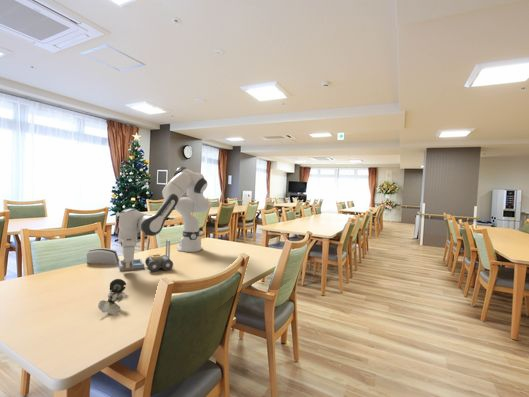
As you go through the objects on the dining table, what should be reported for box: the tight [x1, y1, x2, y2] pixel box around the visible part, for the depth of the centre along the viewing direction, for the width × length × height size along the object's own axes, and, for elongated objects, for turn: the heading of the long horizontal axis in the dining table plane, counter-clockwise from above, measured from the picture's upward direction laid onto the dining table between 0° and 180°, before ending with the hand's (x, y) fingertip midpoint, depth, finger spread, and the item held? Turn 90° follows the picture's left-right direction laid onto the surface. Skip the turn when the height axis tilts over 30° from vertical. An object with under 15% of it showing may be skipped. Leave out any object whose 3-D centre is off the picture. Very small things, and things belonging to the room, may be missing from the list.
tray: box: [117, 258, 145, 272], centre depth 154 cm, size 12×12×2 cm
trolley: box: [144, 238, 174, 273], centre depth 153 cm, size 13×12×16 cm
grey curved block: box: [86, 247, 121, 265], centre depth 158 cm, size 17×5×10 cm, turn 97°
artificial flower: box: [97, 278, 127, 316], centre depth 107 cm, size 9×22×10 cm, turn 16°
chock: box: [122, 259, 133, 272], centre depth 142 cm, size 5×4×4 cm
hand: (127, 265), depth 142 cm, fingers closed on chock, 5 cm apart
